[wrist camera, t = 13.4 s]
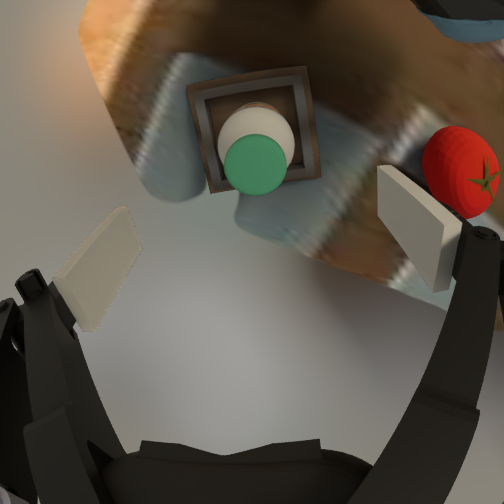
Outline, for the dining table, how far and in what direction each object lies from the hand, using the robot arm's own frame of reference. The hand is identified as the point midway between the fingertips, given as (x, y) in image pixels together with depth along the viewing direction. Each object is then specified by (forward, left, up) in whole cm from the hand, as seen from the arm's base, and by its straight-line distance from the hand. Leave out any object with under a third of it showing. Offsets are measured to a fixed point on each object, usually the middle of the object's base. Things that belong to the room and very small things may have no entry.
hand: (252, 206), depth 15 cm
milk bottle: (0, 0, -27) cm, 27 cm away
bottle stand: (0, 0, -28) cm, 28 cm away
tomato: (+8, +29, -28) cm, 41 cm away
